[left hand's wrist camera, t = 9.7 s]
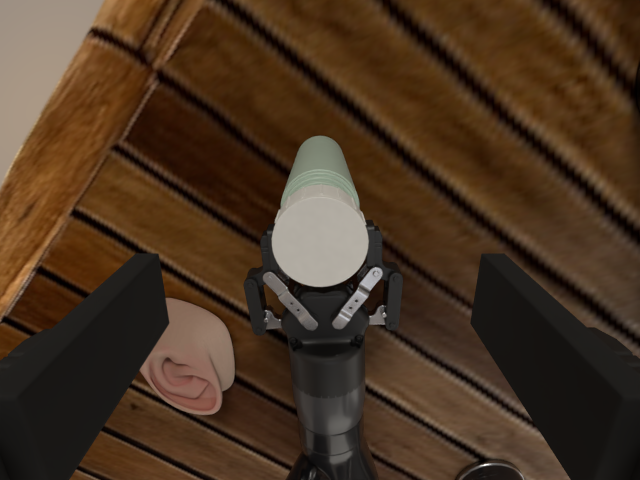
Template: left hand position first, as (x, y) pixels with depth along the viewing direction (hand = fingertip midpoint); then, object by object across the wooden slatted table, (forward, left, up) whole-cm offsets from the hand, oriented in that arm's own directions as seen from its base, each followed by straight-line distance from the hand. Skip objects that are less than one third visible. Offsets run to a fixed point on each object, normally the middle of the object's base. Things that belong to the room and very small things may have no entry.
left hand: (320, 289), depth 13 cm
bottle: (0, 0, -27) cm, 27 cm away
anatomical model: (0, +27, -27) cm, 38 cm away
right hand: (-3, +4, -20) cm, 21 cm away
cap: (0, 0, -5) cm, 5 cm away
